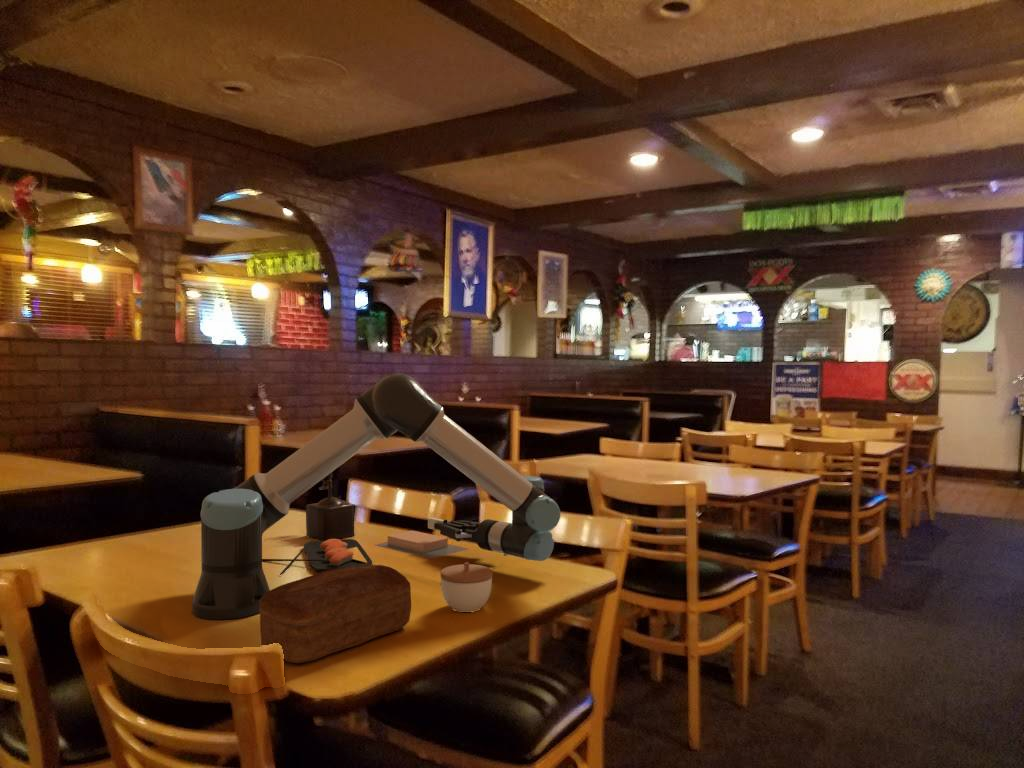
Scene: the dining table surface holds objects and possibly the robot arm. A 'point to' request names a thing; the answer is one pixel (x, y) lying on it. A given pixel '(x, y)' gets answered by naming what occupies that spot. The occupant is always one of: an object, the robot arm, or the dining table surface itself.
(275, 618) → the bread
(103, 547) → the dining table surface
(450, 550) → the board
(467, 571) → the lidded jar
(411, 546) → the tile
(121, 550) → the dining table surface
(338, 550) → the sushi plate
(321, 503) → the pepper mill
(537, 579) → the dining table surface
